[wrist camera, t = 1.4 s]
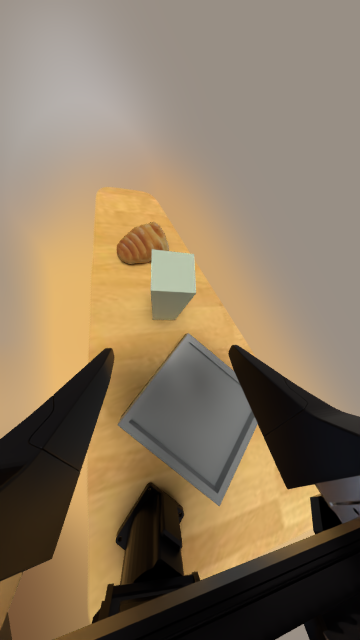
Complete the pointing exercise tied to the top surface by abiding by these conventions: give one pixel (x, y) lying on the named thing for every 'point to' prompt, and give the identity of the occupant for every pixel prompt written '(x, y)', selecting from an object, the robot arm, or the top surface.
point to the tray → (194, 418)
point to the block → (171, 283)
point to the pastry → (142, 243)
